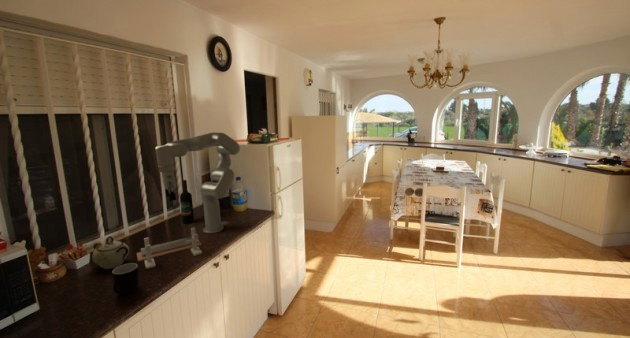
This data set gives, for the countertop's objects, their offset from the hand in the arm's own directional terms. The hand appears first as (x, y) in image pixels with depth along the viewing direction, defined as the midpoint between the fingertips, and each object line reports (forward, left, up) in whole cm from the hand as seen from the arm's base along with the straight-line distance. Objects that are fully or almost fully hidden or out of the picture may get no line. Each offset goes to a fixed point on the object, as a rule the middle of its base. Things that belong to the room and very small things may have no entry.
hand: (171, 198), depth 160 cm
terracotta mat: (+4, +4, -28) cm, 28 cm away
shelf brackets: (+4, +16, -28) cm, 32 cm away
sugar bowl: (+30, +5, -28) cm, 41 cm away
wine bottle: (-14, -36, -28) cm, 48 cm away
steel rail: (+4, +4, -27) cm, 28 cm away
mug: (+26, +37, -28) cm, 53 cm away
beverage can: (-29, -41, -28) cm, 58 cm away
